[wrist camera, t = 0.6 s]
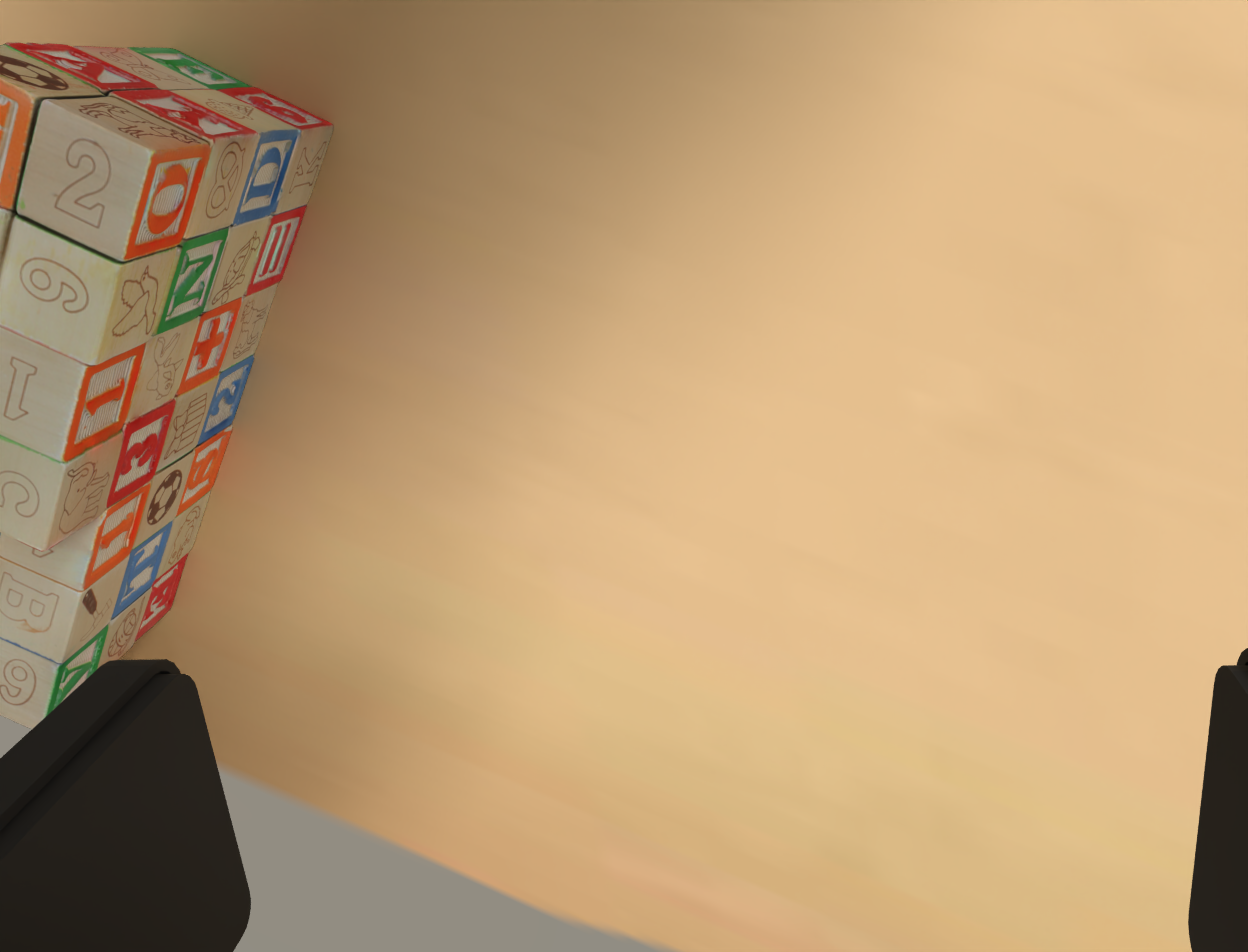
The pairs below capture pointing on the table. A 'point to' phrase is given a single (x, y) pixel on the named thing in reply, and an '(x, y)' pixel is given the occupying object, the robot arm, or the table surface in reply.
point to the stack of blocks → (124, 332)
